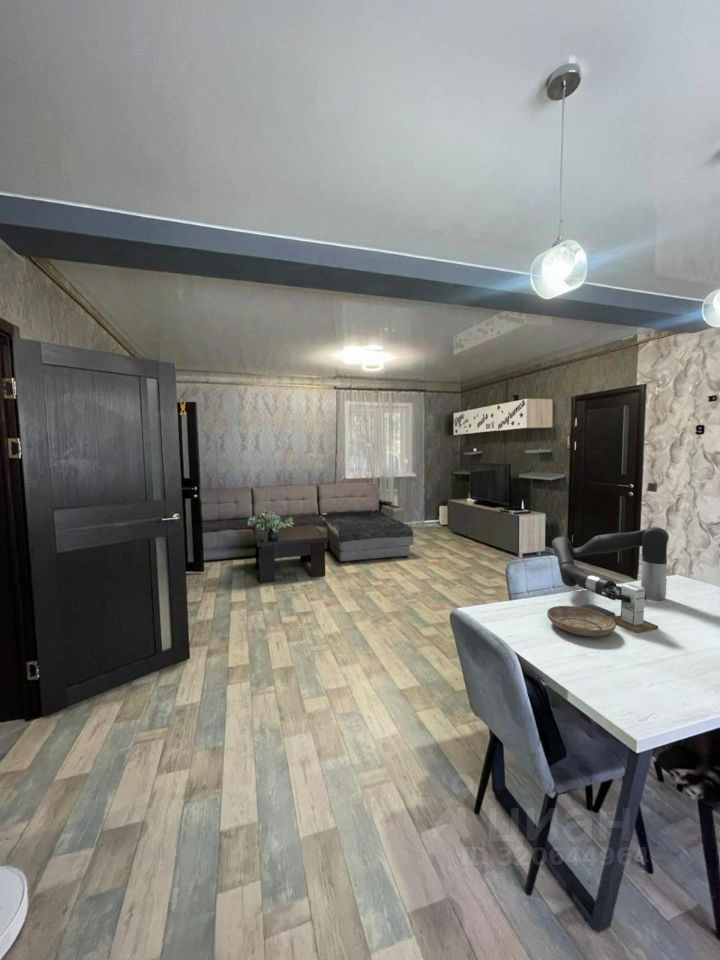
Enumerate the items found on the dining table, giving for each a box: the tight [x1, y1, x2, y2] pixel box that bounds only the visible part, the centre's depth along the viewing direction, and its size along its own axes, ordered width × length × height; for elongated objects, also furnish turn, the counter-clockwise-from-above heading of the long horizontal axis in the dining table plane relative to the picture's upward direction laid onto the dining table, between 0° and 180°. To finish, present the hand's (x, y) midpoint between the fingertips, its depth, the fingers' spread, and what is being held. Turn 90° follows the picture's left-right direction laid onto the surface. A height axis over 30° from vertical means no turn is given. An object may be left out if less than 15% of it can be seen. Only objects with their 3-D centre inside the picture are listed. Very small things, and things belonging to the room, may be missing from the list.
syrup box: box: [620, 583, 645, 625], centre depth 156 cm, size 6×6×14 cm
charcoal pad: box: [575, 603, 616, 617], centre depth 168 cm, size 11×11×1 cm
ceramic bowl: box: [546, 605, 617, 637], centre depth 153 cm, size 23×24×5 cm
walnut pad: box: [609, 614, 659, 634], centre depth 157 cm, size 12×12×1 cm
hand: (637, 599), depth 154 cm, fingers open, 8 cm apart
